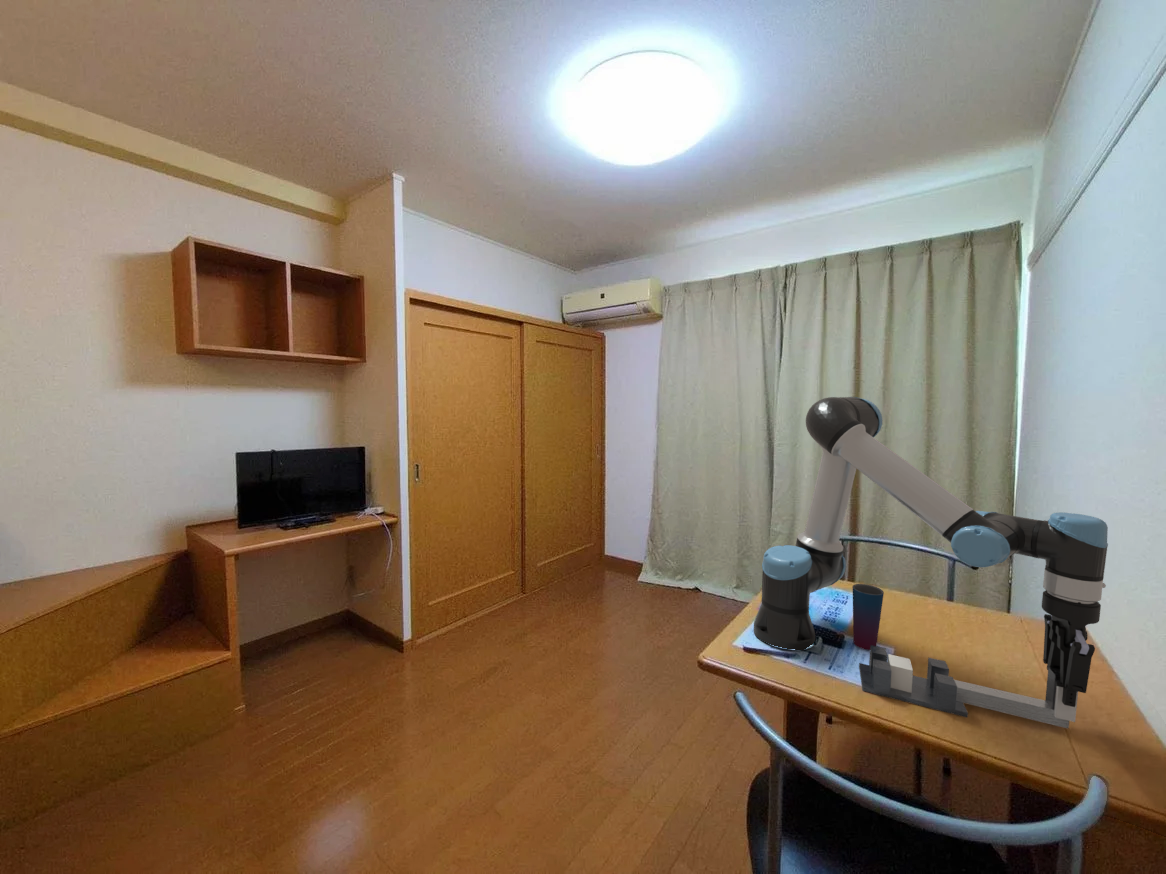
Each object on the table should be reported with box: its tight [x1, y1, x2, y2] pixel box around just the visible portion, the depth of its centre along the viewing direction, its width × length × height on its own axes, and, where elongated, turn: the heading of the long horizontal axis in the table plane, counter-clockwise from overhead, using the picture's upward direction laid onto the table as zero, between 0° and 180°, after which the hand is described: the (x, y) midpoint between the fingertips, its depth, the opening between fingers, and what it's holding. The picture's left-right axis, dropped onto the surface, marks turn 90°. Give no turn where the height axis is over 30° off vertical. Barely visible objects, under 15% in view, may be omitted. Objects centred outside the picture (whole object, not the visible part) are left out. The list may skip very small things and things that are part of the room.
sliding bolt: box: [954, 667, 1070, 729], centre depth 92 cm, size 20×3×10 cm, turn 62°
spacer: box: [887, 653, 914, 693], centre depth 100 cm, size 5×5×4 cm
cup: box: [852, 583, 885, 651], centre depth 117 cm, size 7×7×15 cm
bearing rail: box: [858, 645, 969, 718], centre depth 99 cm, size 18×10×6 cm, turn 62°
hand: (1059, 712), depth 88 cm, fingers closed on sliding bolt, 3 cm apart
